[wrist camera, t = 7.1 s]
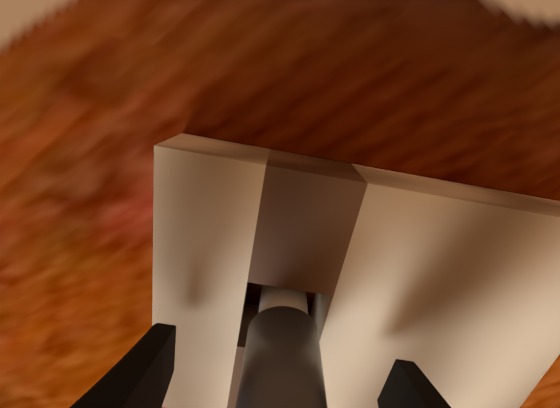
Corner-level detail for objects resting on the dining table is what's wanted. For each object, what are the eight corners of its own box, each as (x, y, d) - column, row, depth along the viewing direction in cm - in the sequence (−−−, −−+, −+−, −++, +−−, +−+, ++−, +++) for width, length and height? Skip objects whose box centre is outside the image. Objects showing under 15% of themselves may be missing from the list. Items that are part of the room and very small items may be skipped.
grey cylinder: (316, 263, 13) (345, 438, 7) (305, 308, 14) (322, 499, 8) (259, 255, 13) (231, 424, 6) (252, 300, 14) (222, 488, 7)
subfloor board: (577, 204, 12) (649, 233, 9) (457, 399, 16) (486, 451, 14) (182, 132, 11) (153, 145, 9) (171, 357, 15) (151, 405, 13)
